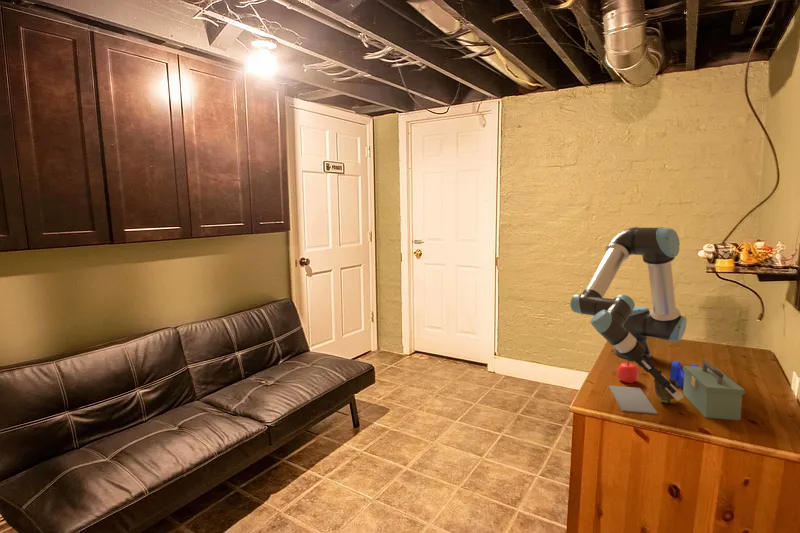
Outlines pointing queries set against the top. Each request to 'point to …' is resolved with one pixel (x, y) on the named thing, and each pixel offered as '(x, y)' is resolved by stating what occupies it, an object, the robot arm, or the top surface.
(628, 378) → the apple
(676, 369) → the bracket
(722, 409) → the toolbox
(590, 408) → the top surface
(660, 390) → the cup
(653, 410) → the rubber mat
